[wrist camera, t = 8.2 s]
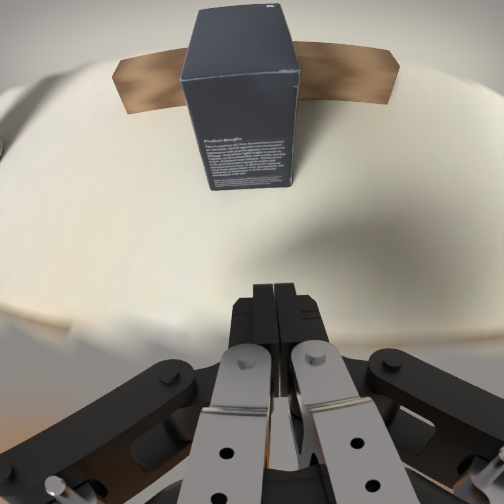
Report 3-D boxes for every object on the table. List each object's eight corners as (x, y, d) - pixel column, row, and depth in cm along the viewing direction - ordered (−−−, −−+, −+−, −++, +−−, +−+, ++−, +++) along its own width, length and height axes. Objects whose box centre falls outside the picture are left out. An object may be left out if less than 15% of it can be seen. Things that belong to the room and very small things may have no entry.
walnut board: (127, 114, 27) (111, 76, 22) (134, 96, 28) (120, 60, 23) (387, 104, 26) (399, 66, 22) (378, 87, 27) (388, 50, 23)
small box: (211, 103, 27) (195, 6, 17) (280, 99, 26) (283, 1, 17) (205, 193, 22) (172, 77, 13) (293, 188, 22) (307, 69, 13)
